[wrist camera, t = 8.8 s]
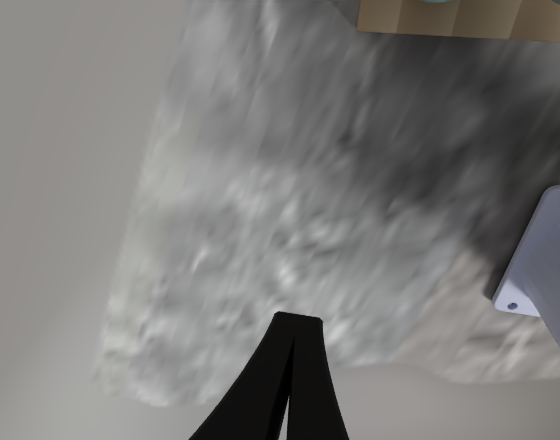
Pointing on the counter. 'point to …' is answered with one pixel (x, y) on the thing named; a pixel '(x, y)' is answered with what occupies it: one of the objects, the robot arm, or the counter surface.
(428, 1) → the button
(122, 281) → the counter surface
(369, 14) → the button board
